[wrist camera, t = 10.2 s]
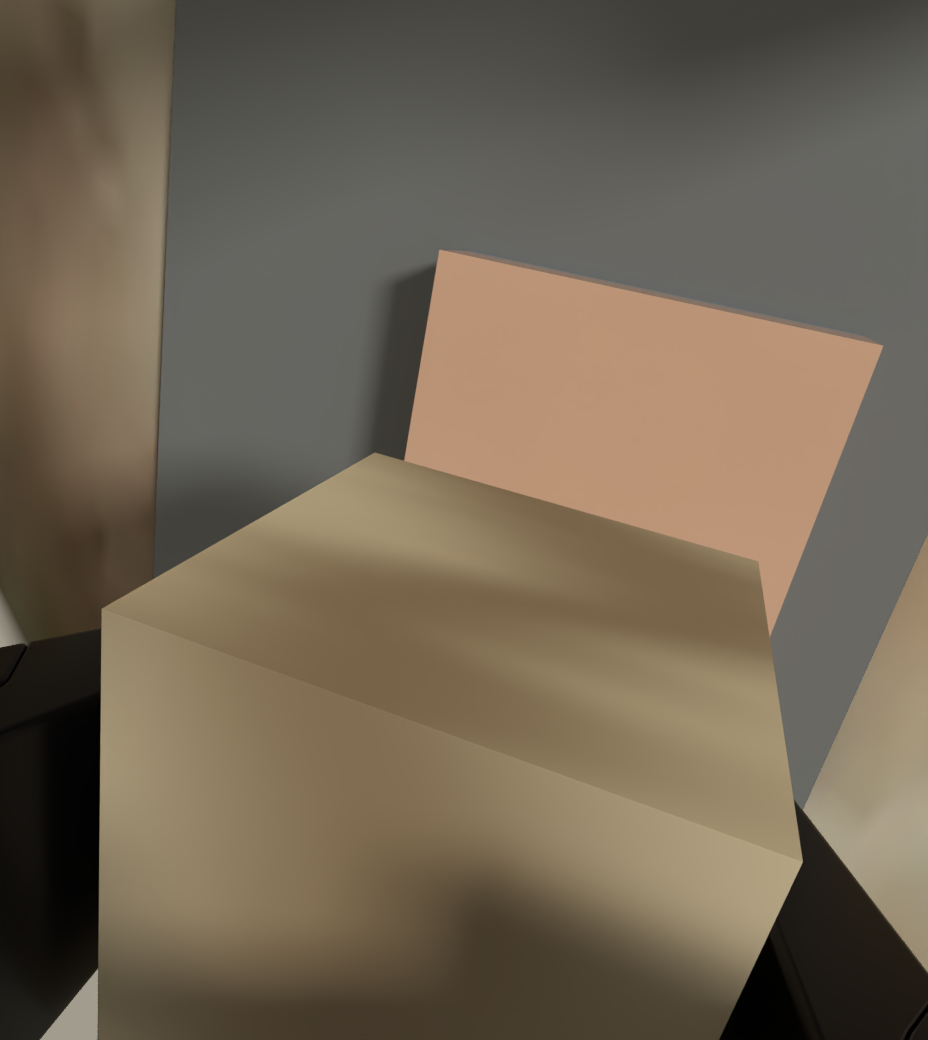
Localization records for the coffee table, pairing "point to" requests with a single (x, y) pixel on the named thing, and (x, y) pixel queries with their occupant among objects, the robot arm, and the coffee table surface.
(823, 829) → the coffee table surface
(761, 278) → the mat
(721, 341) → the tile
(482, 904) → the cube
